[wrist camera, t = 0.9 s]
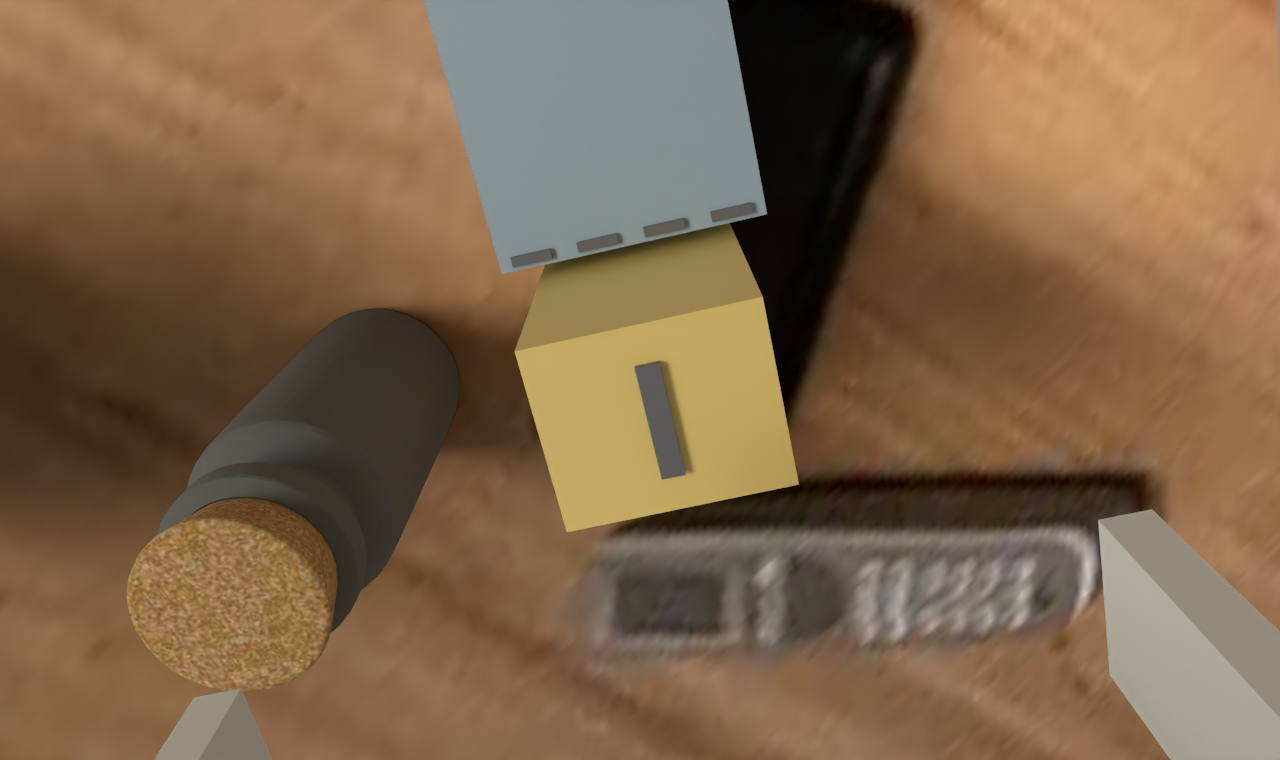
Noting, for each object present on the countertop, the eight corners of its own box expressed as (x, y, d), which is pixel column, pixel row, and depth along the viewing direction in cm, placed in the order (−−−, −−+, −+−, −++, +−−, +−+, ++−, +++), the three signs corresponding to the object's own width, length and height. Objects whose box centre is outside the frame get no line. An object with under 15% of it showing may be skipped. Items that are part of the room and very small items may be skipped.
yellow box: (553, 241, 35) (513, 354, 23) (720, 203, 34) (764, 299, 23) (588, 371, 36) (566, 536, 25) (747, 336, 36) (800, 488, 24)
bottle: (447, 299, 36) (325, 487, 22) (472, 446, 38) (376, 704, 24) (289, 314, 36) (65, 509, 22) (322, 459, 38) (137, 723, 24)
